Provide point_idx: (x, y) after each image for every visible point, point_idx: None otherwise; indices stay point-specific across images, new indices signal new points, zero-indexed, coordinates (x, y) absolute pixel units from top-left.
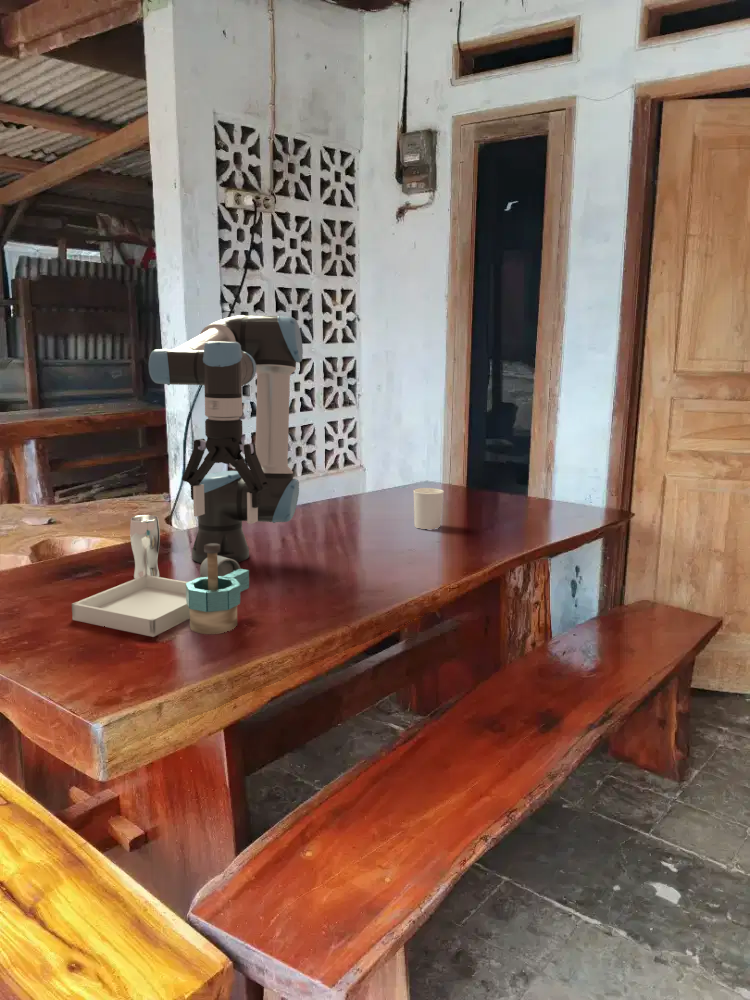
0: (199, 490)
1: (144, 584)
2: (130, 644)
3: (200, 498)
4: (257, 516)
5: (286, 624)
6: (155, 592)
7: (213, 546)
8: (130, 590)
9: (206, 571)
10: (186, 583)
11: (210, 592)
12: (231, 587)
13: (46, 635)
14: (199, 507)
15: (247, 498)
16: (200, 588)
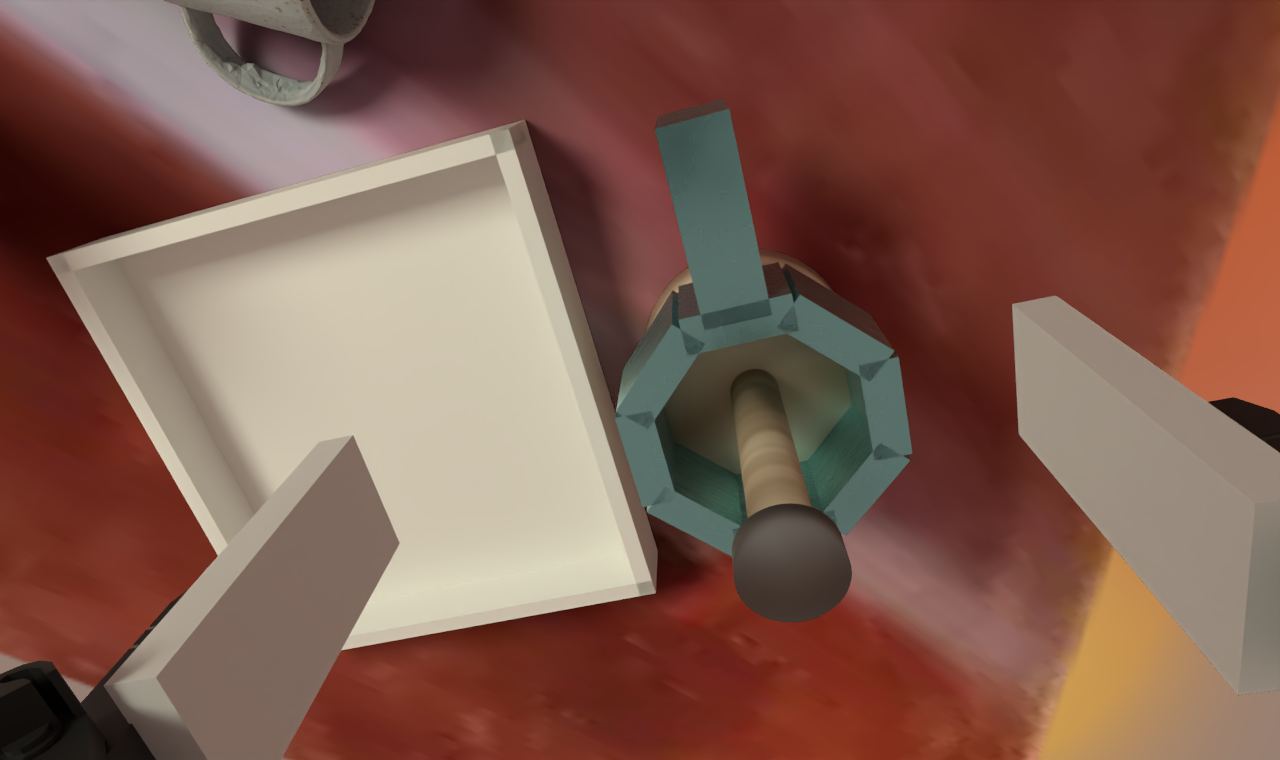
0: (251, 704)
1: (107, 271)
2: (653, 624)
3: (299, 608)
4: (1086, 322)
5: (1016, 115)
6: (220, 276)
7: (821, 587)
8: (160, 364)
9: (237, 18)
10: (645, 506)
11: (855, 524)
12: (887, 411)
13: (392, 719)
14: (352, 558)
15: (1188, 625)
16: (659, 414)
